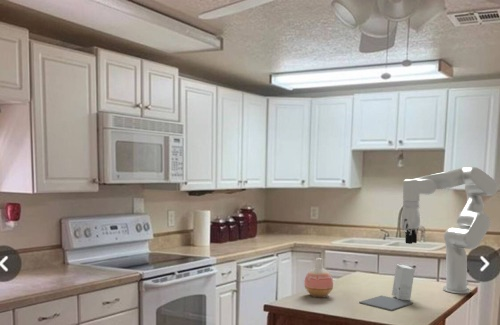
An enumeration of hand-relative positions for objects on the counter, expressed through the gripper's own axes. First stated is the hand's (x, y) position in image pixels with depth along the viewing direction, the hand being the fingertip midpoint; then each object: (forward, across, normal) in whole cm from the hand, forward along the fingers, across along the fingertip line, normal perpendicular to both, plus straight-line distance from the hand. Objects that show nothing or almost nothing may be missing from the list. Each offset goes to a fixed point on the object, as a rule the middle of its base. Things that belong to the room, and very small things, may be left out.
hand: (411, 242), depth 225 cm
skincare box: (+25, +9, 0) cm, 27 cm away
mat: (+25, +22, 0) cm, 33 cm away
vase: (+25, +35, -28) cm, 52 cm away
